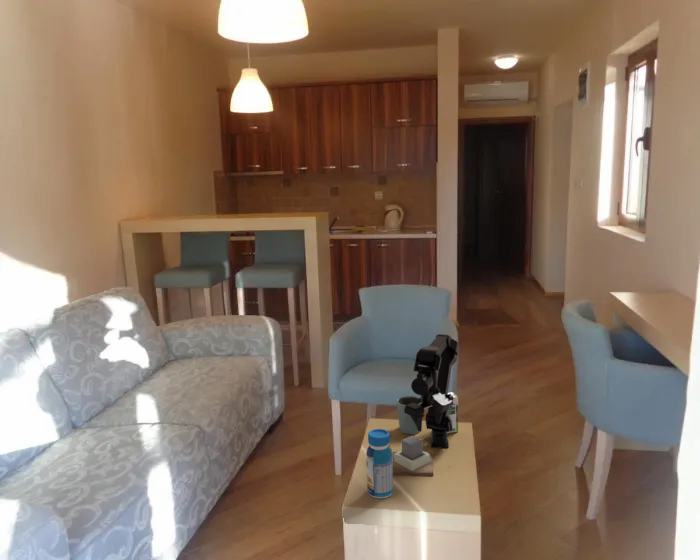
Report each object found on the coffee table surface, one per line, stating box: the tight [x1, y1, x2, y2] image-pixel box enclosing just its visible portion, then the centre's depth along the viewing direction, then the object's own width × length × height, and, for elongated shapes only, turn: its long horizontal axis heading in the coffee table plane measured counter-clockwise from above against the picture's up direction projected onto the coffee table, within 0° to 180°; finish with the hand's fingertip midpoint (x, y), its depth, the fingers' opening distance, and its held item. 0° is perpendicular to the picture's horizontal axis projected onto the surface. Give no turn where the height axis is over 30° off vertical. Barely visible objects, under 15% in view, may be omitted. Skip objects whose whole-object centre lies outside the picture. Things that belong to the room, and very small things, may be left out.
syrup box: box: [447, 391, 459, 434], centre depth 219 cm, size 6×6×14 cm
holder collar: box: [394, 449, 430, 471], centre depth 194 cm, size 9×9×3 cm
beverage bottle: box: [365, 428, 394, 499], centre depth 176 cm, size 8×8×20 cm
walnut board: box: [392, 451, 434, 477], centre depth 194 cm, size 14×14×1 cm
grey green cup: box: [396, 395, 421, 435], centre depth 221 cm, size 10×10×12 cm
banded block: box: [401, 435, 424, 460], centre depth 194 cm, size 5×5×8 cm
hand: (429, 427), depth 195 cm, fingers open, 9 cm apart
